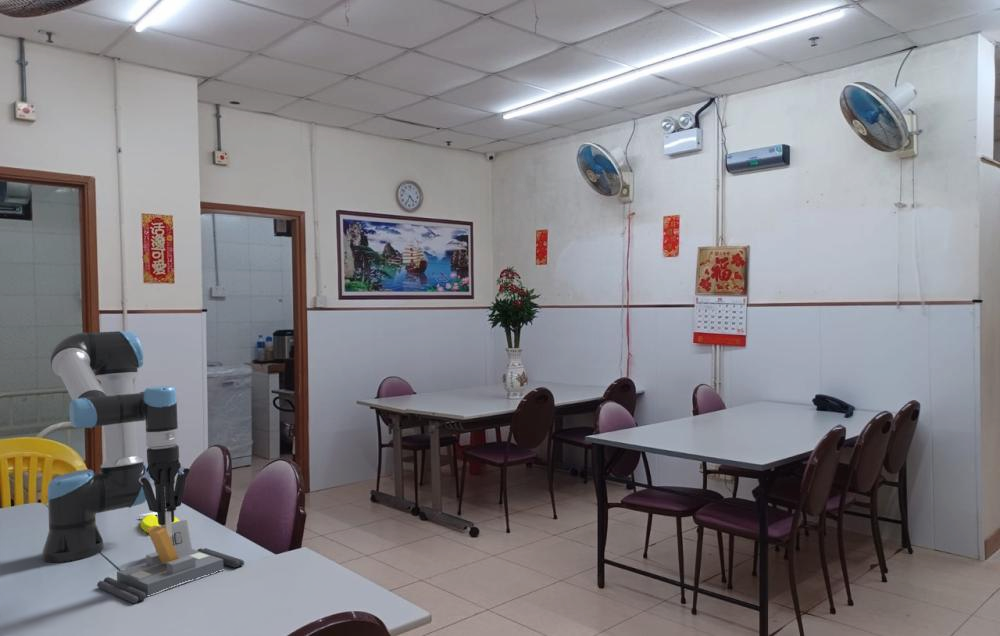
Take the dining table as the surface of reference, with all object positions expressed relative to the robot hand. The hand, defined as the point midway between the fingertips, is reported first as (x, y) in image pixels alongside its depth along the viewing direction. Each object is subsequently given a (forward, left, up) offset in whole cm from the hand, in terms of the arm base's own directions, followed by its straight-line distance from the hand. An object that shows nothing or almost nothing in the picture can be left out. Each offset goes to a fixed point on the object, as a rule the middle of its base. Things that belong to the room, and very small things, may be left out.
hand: (166, 536), depth 179 cm
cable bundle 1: (0, -11, -11) cm, 16 cm away
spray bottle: (-52, +23, -12) cm, 58 cm away
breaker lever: (0, +1, -7) cm, 7 cm away
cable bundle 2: (0, +14, -11) cm, 18 cm away
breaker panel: (0, +1, -11) cm, 11 cm away
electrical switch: (-17, +10, -11) cm, 23 cm away
